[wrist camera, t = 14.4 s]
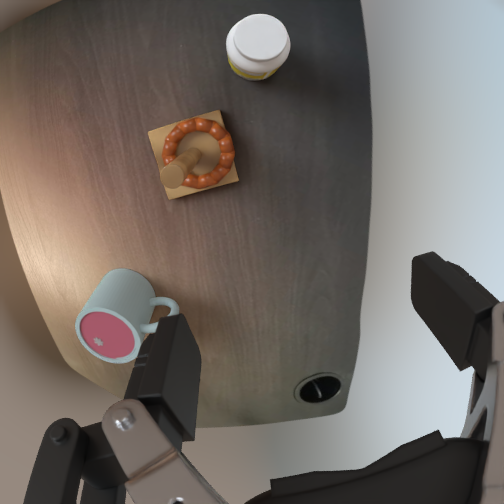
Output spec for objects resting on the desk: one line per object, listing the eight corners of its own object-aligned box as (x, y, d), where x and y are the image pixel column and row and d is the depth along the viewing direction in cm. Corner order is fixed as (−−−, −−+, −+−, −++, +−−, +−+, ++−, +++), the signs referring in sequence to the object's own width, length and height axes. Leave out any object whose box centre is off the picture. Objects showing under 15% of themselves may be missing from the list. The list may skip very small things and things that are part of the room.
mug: (110, 321, 47) (91, 362, 37) (92, 271, 43) (65, 308, 34) (190, 316, 47) (182, 361, 38) (177, 262, 43) (164, 302, 34)
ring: (155, 131, 34) (152, 132, 33) (222, 109, 34) (222, 108, 32) (176, 195, 38) (174, 198, 36) (242, 175, 37) (242, 178, 36)
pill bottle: (268, 28, 30) (281, -2, 20) (287, 71, 33) (308, 56, 23) (220, 45, 31) (214, 19, 21) (239, 88, 34) (241, 77, 24)
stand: (149, 131, 35) (106, 142, 22) (220, 109, 35) (211, 106, 22) (170, 197, 39) (140, 241, 26) (238, 178, 38) (241, 214, 26)
